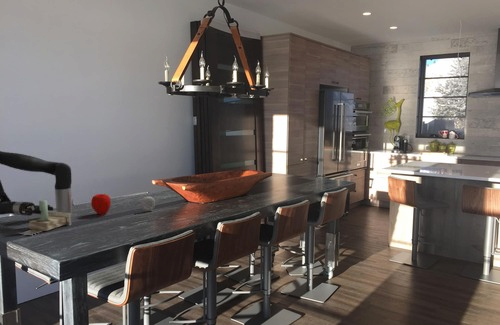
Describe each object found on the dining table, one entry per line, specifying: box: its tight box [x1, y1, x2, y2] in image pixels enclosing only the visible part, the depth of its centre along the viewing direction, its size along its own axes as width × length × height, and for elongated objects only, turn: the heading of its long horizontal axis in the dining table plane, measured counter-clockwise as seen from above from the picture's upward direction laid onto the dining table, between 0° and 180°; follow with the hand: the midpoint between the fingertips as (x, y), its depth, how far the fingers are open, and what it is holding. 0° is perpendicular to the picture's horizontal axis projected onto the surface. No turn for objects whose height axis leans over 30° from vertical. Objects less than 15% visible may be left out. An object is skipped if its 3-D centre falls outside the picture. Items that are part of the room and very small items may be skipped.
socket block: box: [28, 216, 66, 232], centre depth 227 cm, size 14×12×4 cm
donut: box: [140, 195, 156, 212], centre depth 265 cm, size 10×4×10 cm, turn 130°
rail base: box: [18, 210, 72, 236], centre depth 224 cm, size 25×16×7 cm, turn 162°
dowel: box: [38, 199, 49, 222], centre depth 224 cm, size 4×4×14 cm
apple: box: [90, 193, 112, 216], centre depth 257 cm, size 12×12×13 cm
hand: (46, 210), depth 224 cm, fingers open, 8 cm apart
